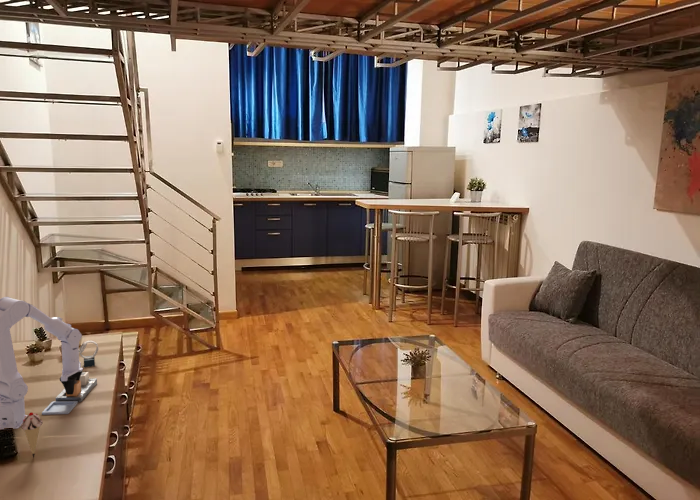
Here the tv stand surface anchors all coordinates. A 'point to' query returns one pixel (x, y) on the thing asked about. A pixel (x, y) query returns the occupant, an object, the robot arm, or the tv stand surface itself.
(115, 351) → the tv stand surface
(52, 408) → the tray
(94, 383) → the grey rectangular holder
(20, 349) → the tv stand surface
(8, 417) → the robot arm
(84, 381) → the beige box
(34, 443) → the ice cream cone
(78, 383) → the plug
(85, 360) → the watch
